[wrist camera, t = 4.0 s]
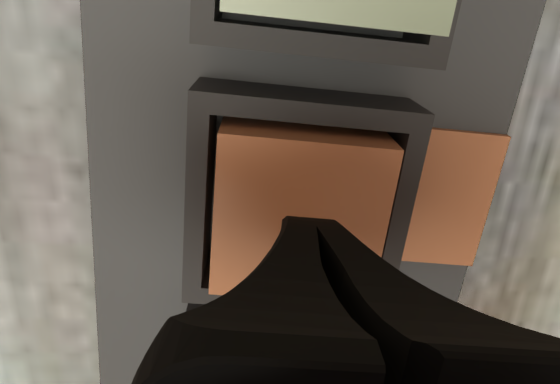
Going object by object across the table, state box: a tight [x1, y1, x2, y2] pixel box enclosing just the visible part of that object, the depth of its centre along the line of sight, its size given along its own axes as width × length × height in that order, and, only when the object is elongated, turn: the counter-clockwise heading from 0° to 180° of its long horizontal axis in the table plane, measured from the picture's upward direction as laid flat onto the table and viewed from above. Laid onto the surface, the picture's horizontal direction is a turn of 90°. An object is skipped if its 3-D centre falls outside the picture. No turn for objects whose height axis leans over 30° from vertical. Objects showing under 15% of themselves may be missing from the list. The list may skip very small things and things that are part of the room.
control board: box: [80, 0, 546, 384], centre depth 16 cm, size 14×27×4 cm, turn 174°
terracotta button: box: [209, 116, 404, 295], centre depth 15 cm, size 5×5×3 cm
